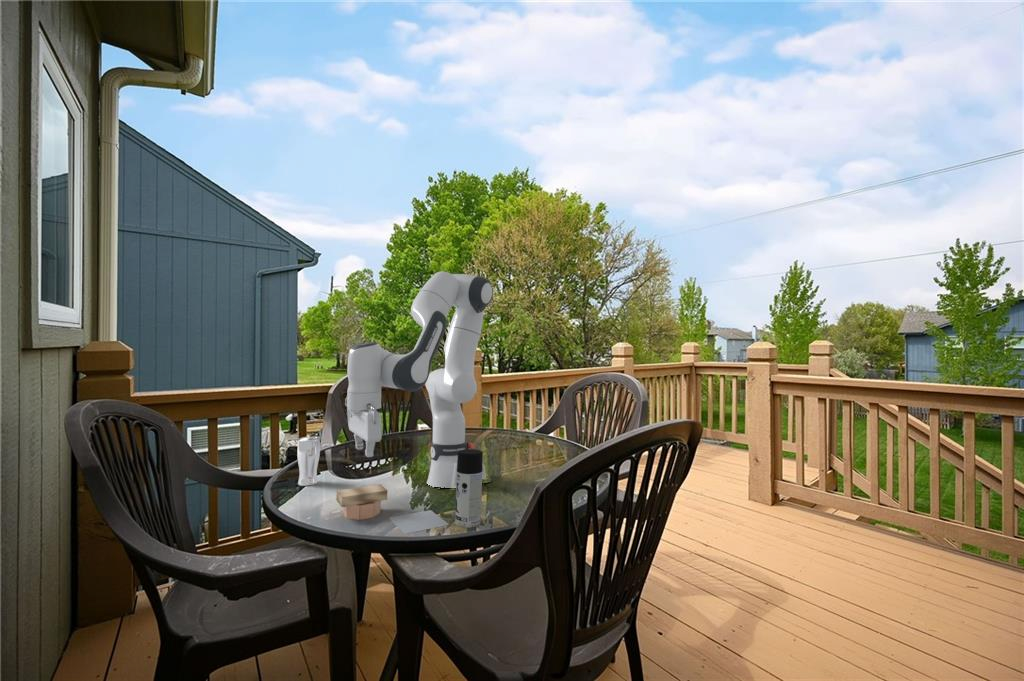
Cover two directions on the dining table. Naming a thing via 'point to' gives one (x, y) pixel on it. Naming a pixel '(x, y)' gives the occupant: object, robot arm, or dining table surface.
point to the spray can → (469, 488)
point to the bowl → (362, 510)
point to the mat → (418, 521)
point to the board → (361, 495)
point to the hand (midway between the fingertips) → (364, 452)
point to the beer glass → (308, 460)
